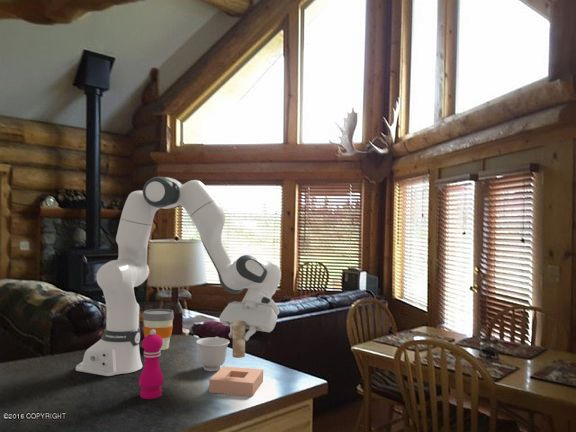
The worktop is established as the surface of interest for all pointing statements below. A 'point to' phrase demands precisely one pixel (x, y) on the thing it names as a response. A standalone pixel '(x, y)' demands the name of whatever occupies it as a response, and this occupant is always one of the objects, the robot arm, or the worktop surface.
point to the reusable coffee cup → (159, 324)
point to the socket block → (236, 381)
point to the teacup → (212, 352)
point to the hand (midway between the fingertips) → (237, 338)
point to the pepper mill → (151, 367)
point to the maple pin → (238, 339)
